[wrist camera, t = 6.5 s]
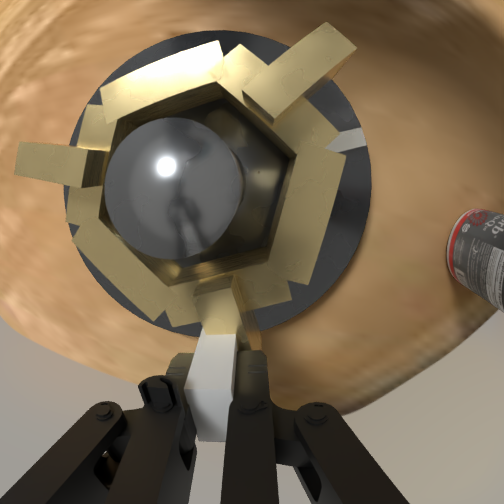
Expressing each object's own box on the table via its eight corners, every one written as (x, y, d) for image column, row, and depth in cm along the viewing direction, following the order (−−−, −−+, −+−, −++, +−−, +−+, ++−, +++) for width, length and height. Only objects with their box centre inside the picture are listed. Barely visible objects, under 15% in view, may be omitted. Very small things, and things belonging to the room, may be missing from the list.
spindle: (163, 151, 15) (97, 137, 8) (241, 137, 15) (228, 104, 8) (175, 227, 17) (119, 266, 9) (252, 216, 16) (249, 249, 9)
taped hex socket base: (57, 136, 13) (8, 132, 9) (316, 44, 12) (336, 3, 8) (132, 353, 17) (105, 396, 13) (378, 297, 16) (412, 335, 11)
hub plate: (68, 87, 14) (54, 81, 12) (334, 31, 13) (341, 19, 11) (111, 332, 19) (101, 343, 17) (367, 306, 18) (376, 317, 16)
